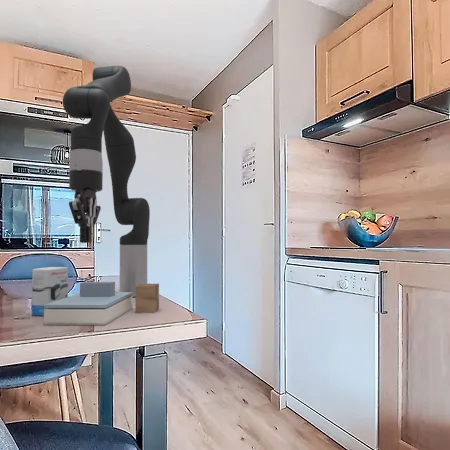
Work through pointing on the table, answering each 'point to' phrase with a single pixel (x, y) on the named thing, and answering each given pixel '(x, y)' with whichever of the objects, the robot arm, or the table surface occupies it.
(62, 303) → the lid
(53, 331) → the table surface
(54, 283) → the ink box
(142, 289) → the parcel
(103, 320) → the beige shallow tray
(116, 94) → the robot arm
